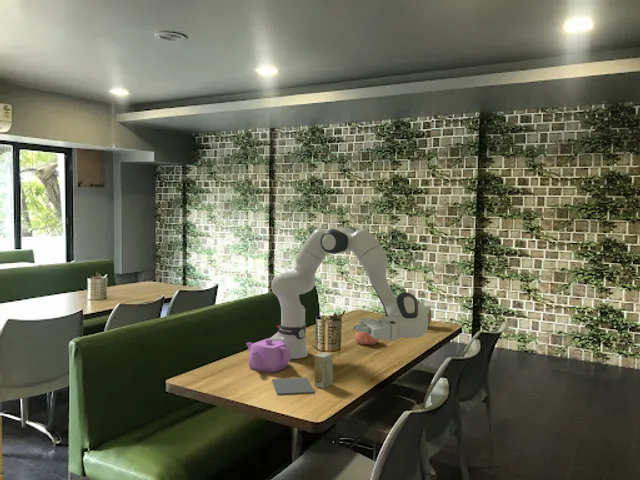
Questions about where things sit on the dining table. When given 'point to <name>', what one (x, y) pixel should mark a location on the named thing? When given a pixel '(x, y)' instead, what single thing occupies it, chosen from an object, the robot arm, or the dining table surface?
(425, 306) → the pitcher
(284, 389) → the mat
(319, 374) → the skincare box
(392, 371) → the dining table surface
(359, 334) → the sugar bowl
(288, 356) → the teakettle
